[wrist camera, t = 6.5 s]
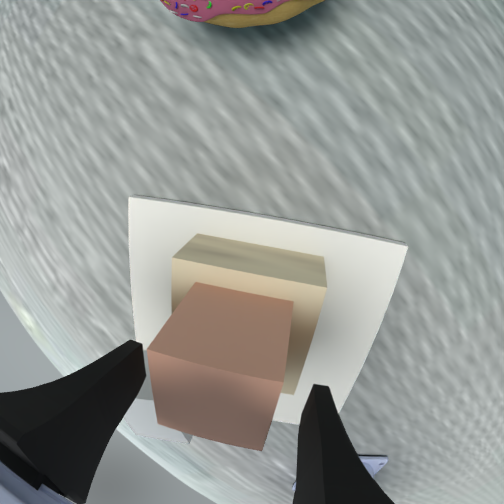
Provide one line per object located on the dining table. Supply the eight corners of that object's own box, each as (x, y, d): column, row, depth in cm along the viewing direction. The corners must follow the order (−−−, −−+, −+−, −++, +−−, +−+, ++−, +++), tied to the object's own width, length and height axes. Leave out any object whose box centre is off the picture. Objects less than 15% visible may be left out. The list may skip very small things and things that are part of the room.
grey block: (209, 394, 22) (189, 443, 17) (160, 391, 23) (135, 435, 18) (190, 350, 20) (162, 401, 15) (138, 350, 21) (106, 393, 17)
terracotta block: (276, 372, 15) (262, 451, 10) (193, 354, 15) (157, 423, 11) (293, 301, 13) (283, 382, 9) (195, 281, 14) (146, 349, 9)
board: (330, 423, 22) (330, 428, 21) (145, 381, 23) (142, 386, 23) (405, 243, 15) (408, 246, 15) (133, 194, 17) (128, 197, 17)
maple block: (297, 355, 19) (293, 395, 15) (192, 333, 19) (173, 367, 16) (323, 256, 16) (327, 287, 13) (197, 233, 17) (171, 257, 14)
